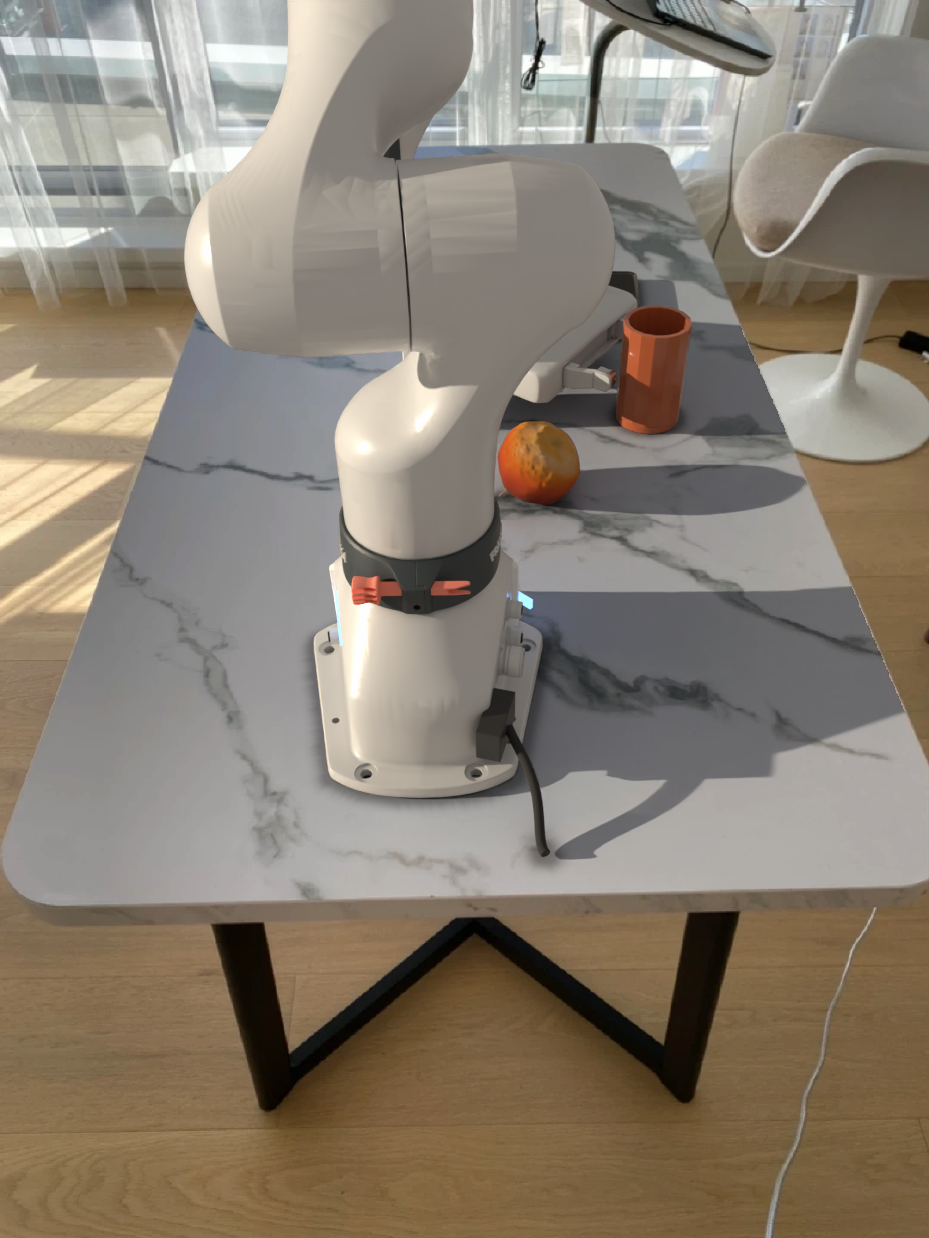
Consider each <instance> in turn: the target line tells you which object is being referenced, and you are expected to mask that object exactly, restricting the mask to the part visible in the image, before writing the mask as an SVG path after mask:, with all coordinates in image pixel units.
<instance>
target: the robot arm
mask: <svg viewBox="0 0 929 1238" xmlns="http://www.w3.org/2000/svg"><path fill="white" fill-rule="evenodd" d="M286 2H287V3H286V5H287V56H286V59H287V60H286V69H285V75H284V81H283V85H282V88H281V90H280V94H279V98H278V100H277V103H276V106H275V108H274V110H273V113H272V115H271V116H270V118H269V120H268V122H267V124H266V125H265V128H264V129H263V131H262V132H261V134H260V136H259V137H258V139H257V140H256V142H255V143H254V144H253V146H252V147H251V148H250V150H249V151H248V152H247V153H246V155H245V156H244V157H243V158H242V159H241V160H240V161H239V162H238V163H237V164H236V165H235V166H234V167H233V168H232V169H231V170H230V171H228V173H226V174H225V175H224V176H222V178H220V179H219V180H217V181H216V182H215V183H213V184H212V185H211V186H210V187H208V189H207V190H206V191H205V193H203V195H202V197H201V199H200V200H199V202H198V204H197V205H196V207H195V209H194V211H193V213H192V215H191V218H190V221H189V224H188V227H187V231H186V236H185V241H184V254H183V257H184V258H183V259H184V260H183V261H184V270H185V271H184V272H185V276H186V277H185V278H186V282H187V286H188V290H189V293H190V294H191V297H192V300H193V303H194V304H195V306H196V308H197V311H198V313H199V314H200V315H201V317H202V319H203V320H204V322H205V324H207V326H208V327H209V328H210V329H211V330H212V332H213V334H215V335H216V336H217V337H218V338H219V339H220V340H221V341H222V342H224V343H225V344H226V345H227V346H229V348H231V349H233V350H238V351H244V352H251V353H258V354H264V355H272V356H281V357H289V358H290V357H291V358H300V359H315V358H329V357H343V356H354V355H369V354H380V353H395V352H396V353H397V352H402V351H409V349H411V352H410V353H409V354H408V356H407V357H406V358H405V359H404V360H403V359H402V360H401V361H400V362H399V363H397V364H396V365H394V366H393V367H392V368H390V369H388V370H387V371H384V372H383V373H381V374H379V375H378V376H377V377H374V378H373V379H371V380H370V381H368V382H367V383H366V384H364V385H363V386H362V387H361V388H360V389H359V390H358V391H357V392H356V393H355V395H353V396H352V398H351V399H350V400H349V402H348V403H347V405H346V406H345V408H344V409H343V411H342V412H341V414H340V417H339V419H338V421H337V424H336V428H335V432H334V451H335V458H336V465H337V466H336V467H337V473H338V481H339V490H340V496H341V503H342V505H341V507H340V510H339V515H338V516H339V517H338V518H339V520H338V523H339V525H338V526H339V528H338V542H339V551H340V556H339V557H338V558H337V559H335V560H334V561H333V563H332V564H330V565H329V567H328V569H329V575H330V582H331V588H332V594H333V595H332V596H333V601H334V607H335V614H336V620H337V622H335V623H332V624H330V625H327V627H324V628H323V629H321V630H320V631H318V632H317V633H316V634H315V635H314V637H313V655H314V662H315V663H314V664H315V670H316V680H317V688H318V696H319V704H320V705H319V707H320V713H321V721H322V730H323V739H324V740H323V741H324V748H325V757H326V763H327V764H326V765H327V771H328V774H329V776H330V778H331V779H332V780H333V781H335V782H337V783H338V784H341V785H343V786H344V787H347V788H350V789H351V790H355V791H358V792H362V793H366V794H370V795H377V796H383V797H393V798H411V799H412V798H414V799H415V798H417V799H424V798H445V797H454V796H455V797H456V796H463V795H467V794H473V793H477V792H481V791H485V790H488V789H492V788H494V787H496V786H499V785H500V784H503V783H504V782H506V781H508V780H510V779H512V778H513V777H514V776H515V774H516V772H517V769H518V765H519V763H520V765H521V768H522V770H523V772H524V774H525V777H526V780H527V781H526V782H527V784H528V787H529V791H530V796H531V801H532V802H531V803H532V812H533V825H534V839H535V845H536V849H537V853H538V854H539V856H540V857H542V858H546V857H547V856H549V855H550V854H551V850H550V849H549V847H548V844H547V837H546V827H545V826H546V824H545V810H544V802H543V796H542V795H543V794H542V791H541V786H540V783H539V779H538V777H537V773H536V771H535V768H534V765H533V763H532V761H531V759H530V757H529V755H528V753H527V751H526V749H525V747H524V745H523V743H524V737H525V733H526V728H527V724H528V718H529V714H530V709H531V705H532V699H533V696H534V695H533V694H534V691H535V687H536V686H535V685H536V681H537V676H538V672H539V667H540V662H541V657H542V652H543V648H544V643H543V635H542V633H541V632H540V631H539V629H538V628H536V627H534V626H532V625H530V624H528V623H526V622H524V621H522V620H521V619H522V618H523V611H524V607H525V608H527V609H528V610H531V609H533V607H534V605H533V604H534V599H533V598H531V597H529V596H528V595H526V594H524V593H523V592H521V591H520V581H519V579H520V578H519V573H520V571H519V570H520V569H519V563H518V562H516V561H515V560H514V559H513V558H512V556H509V555H508V554H507V553H506V552H505V551H504V549H503V548H501V547H502V543H501V541H502V538H503V537H502V535H503V524H502V523H503V522H502V517H501V511H500V505H499V502H498V500H497V497H496V496H495V483H496V482H495V481H496V480H495V479H496V462H497V451H498V442H499V434H500V429H501V425H502V422H503V421H502V420H503V417H504V415H505V412H506V410H507V407H508V406H509V403H510V401H511V399H512V398H513V395H514V396H516V397H518V398H520V399H523V400H525V401H527V402H530V403H533V404H546V403H549V402H550V401H552V400H553V399H554V398H556V396H557V395H559V393H561V392H562V391H563V390H564V389H565V388H568V389H570V390H590V389H591V390H592V389H595V390H598V391H601V392H605V393H606V392H608V391H609V390H611V389H612V387H613V386H614V385H615V384H616V379H617V373H616V371H615V370H614V369H611V368H607V367H606V366H605V367H604V366H602V365H601V366H599V367H598V368H597V369H596V368H589V367H590V366H591V365H592V364H594V363H595V362H596V361H597V360H598V359H599V358H601V357H602V356H603V355H604V354H605V353H606V352H608V351H609V350H610V349H611V348H612V347H613V346H614V345H615V344H617V342H619V341H621V340H622V330H623V319H624V317H625V316H626V314H627V313H628V312H630V311H631V310H633V309H635V308H637V300H636V299H635V297H634V296H633V295H632V294H630V293H629V292H627V291H624V290H621V289H618V288H615V287H612V286H608V284H609V282H610V278H611V275H612V271H614V266H615V259H616V233H615V226H614V221H613V217H612V213H611V211H610V209H609V208H610V207H609V205H608V203H607V200H606V199H605V196H604V194H603V193H602V191H601V189H600V188H599V186H598V185H597V183H596V182H595V181H594V179H593V178H592V176H590V174H589V173H588V172H587V171H586V170H585V169H583V167H582V166H581V165H579V164H578V163H573V162H567V161H563V160H562V161H561V160H556V159H550V158H545V157H538V156H530V155H524V154H523V155H522V154H516V153H510V152H509V153H508V152H499V153H497V152H496V153H483V154H469V155H467V154H466V155H454V156H437V157H423V158H420V157H419V158H415V156H416V153H417V152H418V148H419V146H420V143H421V142H422V139H423V137H424V135H425V133H426V131H427V129H428V127H429V125H430V123H431V122H432V120H433V118H434V117H435V115H436V114H438V113H439V112H440V111H441V110H442V109H443V108H444V107H445V106H446V105H447V104H448V103H449V102H450V101H451V99H453V97H454V96H455V95H456V94H457V92H458V91H459V89H460V88H461V86H462V84H463V83H464V81H465V79H466V78H467V74H468V72H469V70H470V67H471V63H472V59H473V54H474V53H473V51H474V36H473V35H474V34H473V29H474V14H475V13H474V0H286ZM476 775H478V777H474V776H476ZM367 776H370V777H367ZM364 777H367V778H364Z"/></svg>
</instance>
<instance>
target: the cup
mask: <svg viewBox="0 0 929 1238" xmlns="http://www.w3.org/2000/svg"><path fill="white" fill-rule="evenodd" d="M692 328H693V322H692V318H691V317H690V316H689V315H688V314H687V313H686V312H684V311H683V310H680V309H678V308H675V307H672V306H667V305H660V304H658V305H657V304H655V305H654V304H653V305H642V306H641V307H638V308H635V309H633V310H631V311H630V312H628V313H627V314H626V316H625V317H624V319H623V330H622V339H621V340H620V342H621V343H620V353H619V354H620V355H619V366H618V376H617V386H616V387H617V389H616V396H615V397H616V398H615V419H616V421H617V423H618V424H619V425H620V426H622V427H623V428H624V429H626V430H628V431H630V432H634V433H637V434H644V435H655V434H662V433H665V432H668V431H670V430H671V429H673V428H674V427H675V426H676V425H677V424H678V422H679V417H680V414H681V407H682V400H683V394H684V386H685V379H686V372H687V365H688V356H689V350H690V344H691V343H690V342H691V337H692V331H693V330H692Z"/></svg>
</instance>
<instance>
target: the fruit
mask: <svg viewBox="0 0 929 1238" xmlns="http://www.w3.org/2000/svg"><path fill="white" fill-rule="evenodd" d="M497 463H498V465H497V466H498V472H499V476H500V479H501V483H502V486H503V490H502V491H500V493H498V497H499V498H500V497H502V496H503V495H505V494H509V495H510V496H512V497H514V498H516V499H517V500H520V501H521V502H524V503H529V504H535V505H541V506H545V507H546V506H549V505H553V504H555V503H557V502H559V501H560V500H562V499H563V498H564V497H565V496H566V495H567V494H568V493H569V492H570V491H571V490H572V489H573V488H574V486H575V485H576V483H577V481H578V480H579V478H580V476H581V464H580V457H579V452H578V450H577V447H576V444H575V442H574V440H573V439H572V437H571V436H570V435H569V434H568V433H567V432H566V431H565V430H563V429H562V428H559V427H557V426H555V425H554V424H553V423H551V422H548V421H524V422H521V423H519V424H517V425H516V426H515V427H513V428H512V429H511V430H509V431H508V433H507V434H506V436H505V438H504V439H503V441H502V443H501V445H500V447H499V449H498V453H497Z"/></svg>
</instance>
